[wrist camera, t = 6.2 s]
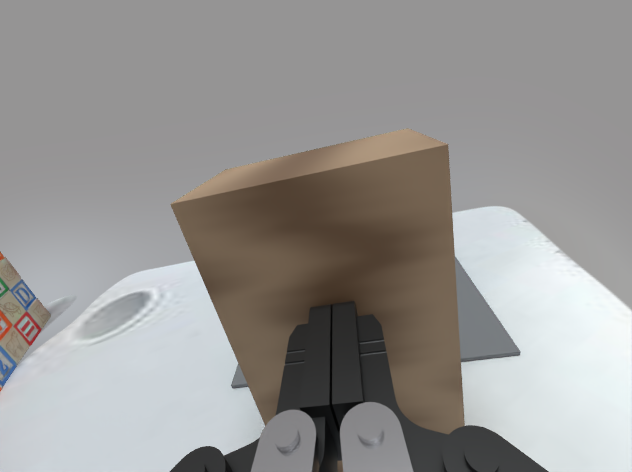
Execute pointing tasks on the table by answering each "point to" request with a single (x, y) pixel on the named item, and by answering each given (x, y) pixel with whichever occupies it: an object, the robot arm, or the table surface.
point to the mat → (463, 327)
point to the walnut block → (337, 261)
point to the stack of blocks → (16, 319)
